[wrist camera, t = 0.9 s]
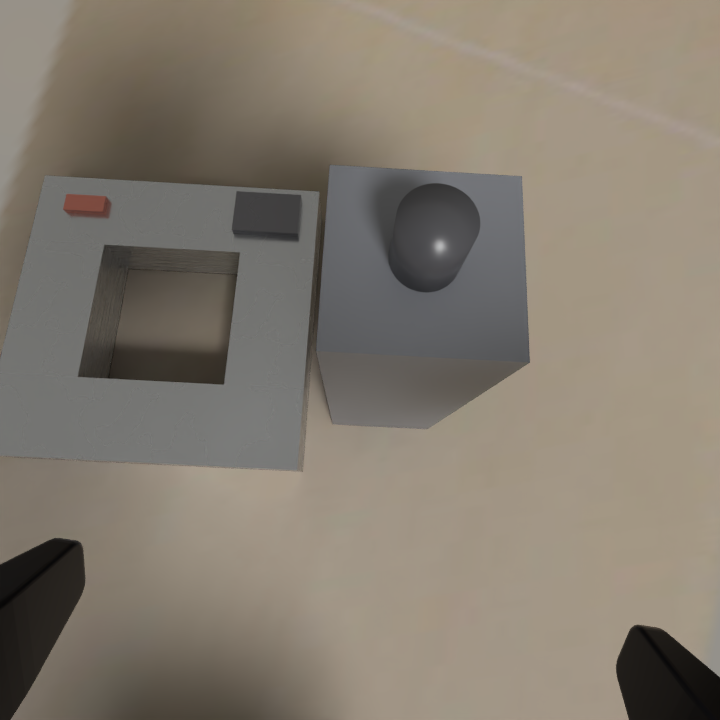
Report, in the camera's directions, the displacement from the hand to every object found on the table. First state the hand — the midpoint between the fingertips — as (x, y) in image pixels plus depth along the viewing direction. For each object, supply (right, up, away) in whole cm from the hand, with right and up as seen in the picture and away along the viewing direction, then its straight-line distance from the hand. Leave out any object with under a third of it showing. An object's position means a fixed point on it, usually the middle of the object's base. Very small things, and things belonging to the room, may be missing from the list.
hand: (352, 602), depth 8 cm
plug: (+1, +3, +15) cm, 16 cm away
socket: (-9, +5, +16) cm, 19 cm away
